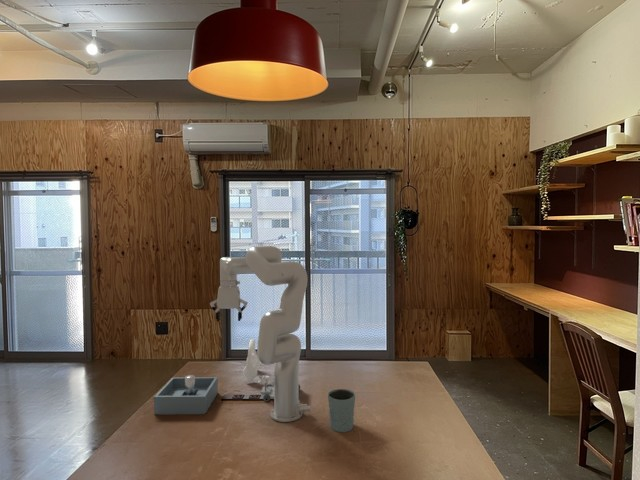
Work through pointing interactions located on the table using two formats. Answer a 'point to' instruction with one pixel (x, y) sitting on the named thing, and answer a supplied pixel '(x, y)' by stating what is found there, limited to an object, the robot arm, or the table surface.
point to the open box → (177, 403)
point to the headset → (251, 363)
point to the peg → (190, 385)
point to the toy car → (267, 389)
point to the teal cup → (341, 409)
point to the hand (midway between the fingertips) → (229, 320)
